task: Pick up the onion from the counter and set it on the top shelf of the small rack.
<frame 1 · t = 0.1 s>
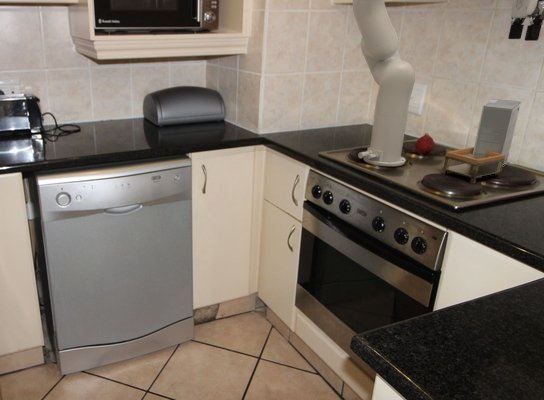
hand: (522, 39, 136), 38 cm above the countertop, tool pointing down, fingers open, 9 cm apart
hard drive box: (487, 167, 149), on the countertop, touching rack
rack: (470, 176, 142), on the countertop
onion: (422, 156, 163), on the countertop
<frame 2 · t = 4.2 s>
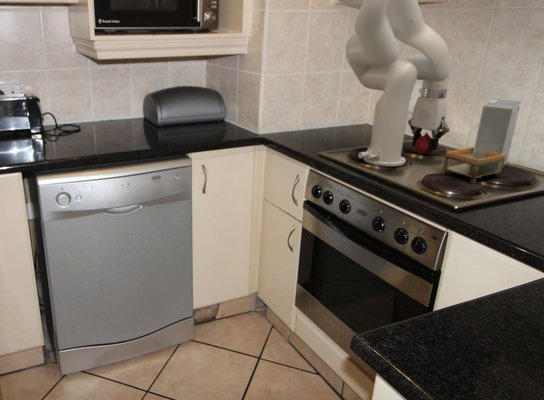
hand: (424, 147, 162), 3 cm above the countertop, tool pointing down, fingers closed on onion, 5 cm apart
onion: (422, 156, 163), on the countertop, touching gripper
everything else where it was.
when the fingers open (9 cm above the countertop, at t = 12.5 s): onion stays where it is, resting on rack.
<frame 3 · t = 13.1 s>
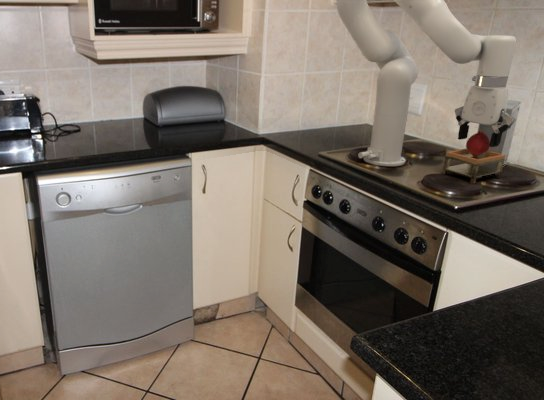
hand: (477, 142, 138), 10 cm above the countertop, tool pointing down, fingers open, 9 cm apart
onion: (474, 157, 140), point 6 cm above the countertop, touching rack
everything else where it was.
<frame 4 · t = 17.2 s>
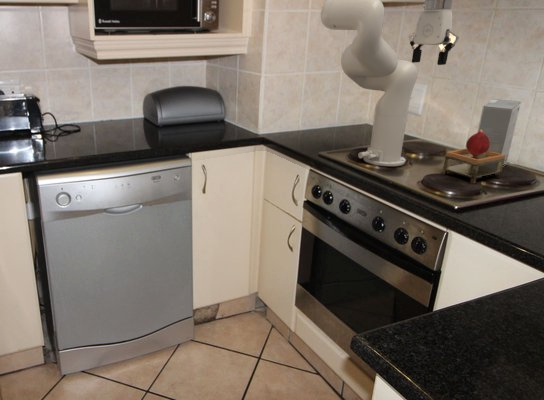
hand: (428, 63, 154), 30 cm above the countertop, tool pointing down, fingers open, 9 cm apart
nothing on the countertop moved.
at the end: onion inside the target area on the rack (0.1 cm from its centre), point 5.8 cm above the rack's base; the gripper is holding nothing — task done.
